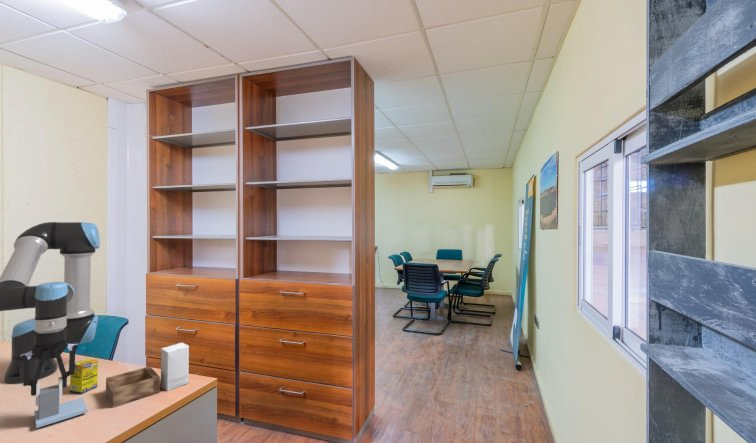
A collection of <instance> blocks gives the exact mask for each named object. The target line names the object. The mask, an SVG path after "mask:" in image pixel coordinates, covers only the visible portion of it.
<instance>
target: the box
mask: <svg viewBox="0 0 756 443" xmlns="http://www.w3.org/2000/svg"><path fill="white" fill-rule="evenodd" d="M160 384H161V375H159V374H158V373H157V372H156V371H155V370H154V369H153V368H152V366H146V367H142V368H138V369H134V370H131V371H127V372H123V373H119V374H116V375H111V376H107V377H106V378H105V395H106V398H107V399H108V401H109V403H110V405H111V407H112V408H116V407H120V406H123V405H126V404H129V403H132V402H136V401H139V400H142V399H145V398H148V397H150V396H153V395H157V394H160Z"/></svg>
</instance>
